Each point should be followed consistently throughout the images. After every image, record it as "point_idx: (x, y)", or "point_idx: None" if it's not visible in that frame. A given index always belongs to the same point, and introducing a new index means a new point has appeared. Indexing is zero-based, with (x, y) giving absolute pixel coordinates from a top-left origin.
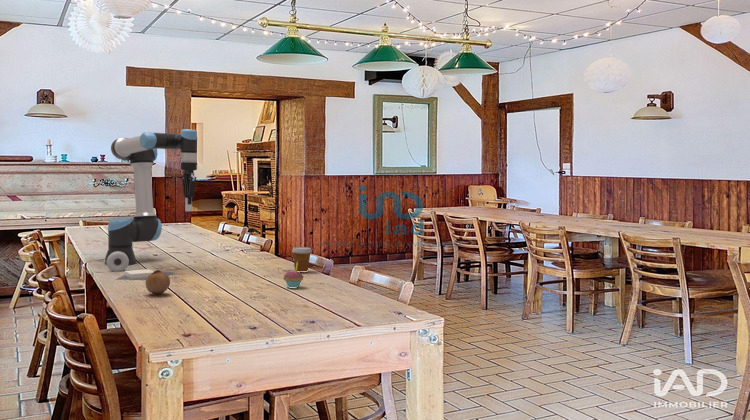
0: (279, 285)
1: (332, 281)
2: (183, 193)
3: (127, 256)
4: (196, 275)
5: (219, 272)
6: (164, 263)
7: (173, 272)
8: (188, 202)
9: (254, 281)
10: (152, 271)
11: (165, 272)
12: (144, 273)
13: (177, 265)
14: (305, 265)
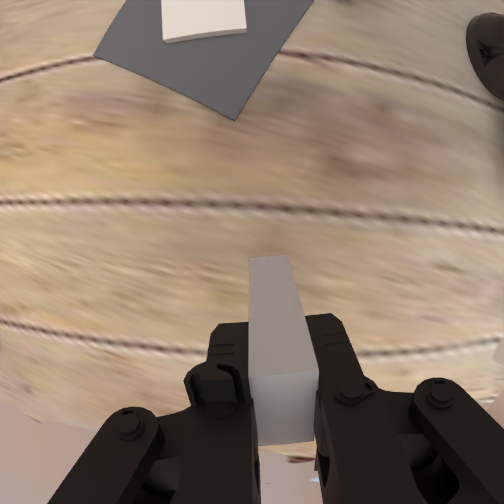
0: (4, 323)
1: (45, 411)
2: (468, 407)
3: (491, 56)
4: (169, 184)
5: (205, 273)
6: (465, 169)
7: (235, 117)
8: (221, 341)
9: (43, 302)
10: (185, 32)
11: (246, 90)
12: (162, 6)
13: (414, 191)
14: None
